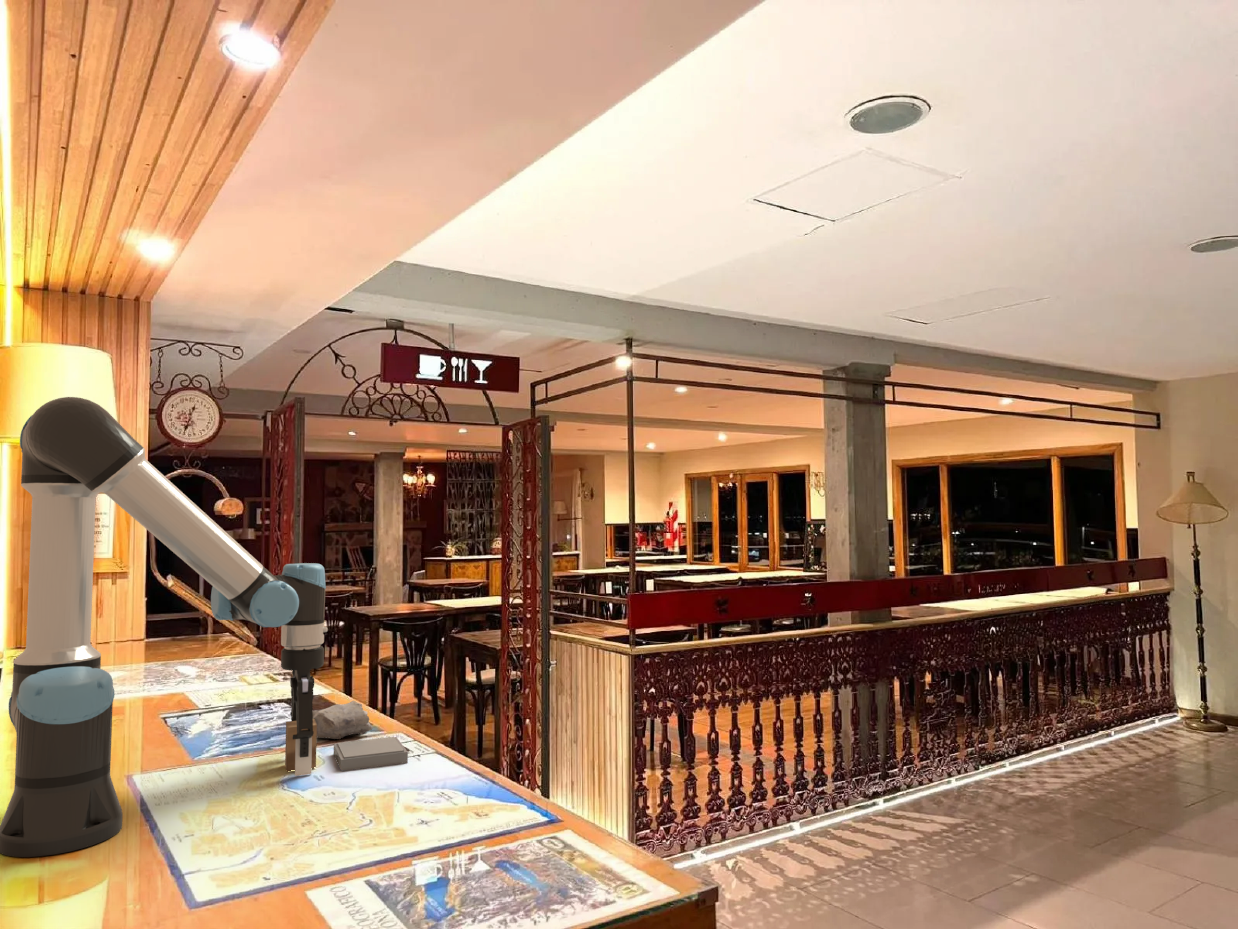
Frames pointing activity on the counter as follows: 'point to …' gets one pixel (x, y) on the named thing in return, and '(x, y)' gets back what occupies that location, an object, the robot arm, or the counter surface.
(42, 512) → the robot arm
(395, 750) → the board
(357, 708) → the stone
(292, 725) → the block
